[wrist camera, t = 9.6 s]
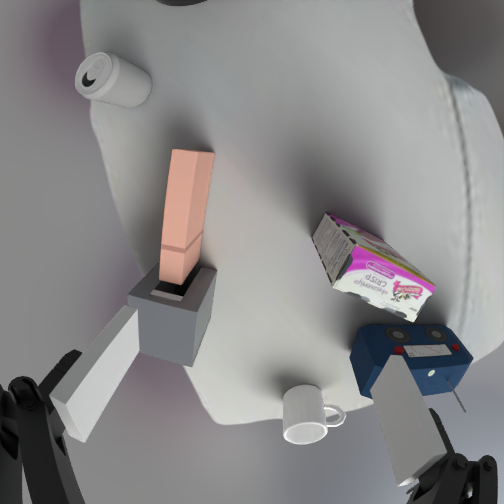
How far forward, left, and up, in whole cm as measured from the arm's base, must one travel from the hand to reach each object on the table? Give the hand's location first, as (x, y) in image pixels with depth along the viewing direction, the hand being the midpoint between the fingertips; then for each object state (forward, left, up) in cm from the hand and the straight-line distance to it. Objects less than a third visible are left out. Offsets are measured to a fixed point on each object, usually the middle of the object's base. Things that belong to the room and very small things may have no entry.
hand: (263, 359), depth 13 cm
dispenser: (+13, -11, -29) cm, 34 cm away
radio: (+16, +29, -29) cm, 44 cm away
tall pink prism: (0, -11, -29) cm, 31 cm away
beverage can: (-17, -24, -29) cm, 41 cm away
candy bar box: (0, +12, -29) cm, 31 cm away
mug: (+33, +16, -29) cm, 47 cm away
